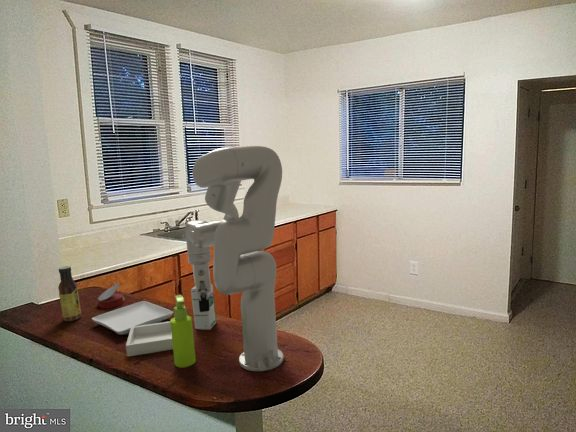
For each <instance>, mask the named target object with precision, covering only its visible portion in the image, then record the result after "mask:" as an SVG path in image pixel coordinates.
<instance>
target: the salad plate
mask: <svg viewBox="0 0 576 432" xmlns="http://www.w3.org/2000/svg"><path fill="white" fill-rule="evenodd" d="M172 315H174V310H170V309H168V308H165V307H163V306H161V305H158V304H154V303H152V302H149V301H146V300H142V301H141V300H140V301H138V302H134V303H132V304H129V305H126V306H123V307H120V308H116V309H114V310H113V309H112V310H111V311H108V312H105V313H102V314H99V315H96V316H94V317H92V318H91V320H92V321H93V322H94V323H96V324H98V325H100V326H103V327H105V328H106V329H108V330H111V331H113V332H115V333H116V334H117V335H121V336H123V335H129V333H130V329H131V327H134V326H141V325H148V324H155V323H161V322H162V321H163V322H164V321H165V320H167V319H168V318H170V317H172Z"/></svg>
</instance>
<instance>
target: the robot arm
mask: <svg viewBox="0 0 576 432" xmlns="http://www.w3.org/2000/svg"><path fill="white" fill-rule="evenodd" d="M282 165H283V164H282V163H281V160H280V157H279V155H278V153H276V151H274V150H273V148H270V147H267V146H260V145H252V146H251V145H250V146H247V145H246V146H233V147H220V148H217V149H216V148H215V149H213V150H211V151H210V152H208V153H205V154H203V155H201V156H199V157H198V158H197V159H196V161H195V162H194V164H193V167H192V178H193V179H192V180H193V182H194V183H195V184H196V186H197V187H200V188H203V189H204V188H205V189H206V188H207V189H206V192H205V197H204V200H205V201H204V202H205V203H206V205H207V206H208V207H209V208H210V209H212V210H214V211H216V212H219V213H222V214H224V217H223V219H221V220H216V221H210V222H209V221H208V222H207V221H206V220H204V219H203V220H202V219H200V220H199V219H195V220H191V221H188V222H186V223H185V227H184V228H185V229H184V230H185V231H184V232H185V240H186V250H187V259H188V260H187V261H188V264H189V265H191V266H192V273H193V281H194V287H196V291H197V293H198V292H199V309H200V312H205V311H209V310H210V309H209V299H208V295H207V291H209V292H210V291H211V284H212V283H211V274H210V262H212V260H213V263H212V275H213V276H212V277H213V278H212V279H213V283H214V286H215V289H216V290H217V292H219V293H220V294H222V295H224V296H229V295H231V296H232V295H235V294H238V293H242V294H241V297H240V315H241V317H240V318H241V329H242V342H243V352H242V353H241V354H240V355H239V357H238V362H239V366H240V367H241V368H243V369H245V370H247V371H251V372H266V371H271V370H274V369H275V368H277V367H279V366H280V365H282V363H283V362H284V353H283V352H282V351H281V349H279V348H278V335H277V319H276V315H277V314H276V299H275V290H276V289H275V288H276V287H275V285H276V279H277V263H276V260H275V257H273V255H272V254H271V253H270V252H268V251H264V250H265V249H267V248H270V247H271V246H272V244H273V241H274V236H275V225H276V217H277V216H276V214H277V203H278V202H277V201H278V197H279V192H280V189H281V184H282V179H283V166H282ZM246 180H247V181H248V180H253V183H252V184H251V185H250V186H249V187H248V190H247V191H246V194H245V195H244V199H243V210H242V214H241V216H239V211H238V209H237V207H236V205H235V204H234V202H235V200H236V196H237V194H238V191H239V189H240V185H241V182H242V181H246ZM212 246H213V259H212V253H211V247H212ZM199 288H200V289H199ZM205 288H206V290H205ZM200 290H201V291H200ZM205 293H206V294H205Z"/></svg>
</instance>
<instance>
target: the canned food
mask: <svg viewBox="0 0 576 432" xmlns="http://www.w3.org/2000/svg"><path fill="white" fill-rule="evenodd" d="M120 284H121V283H120V282H116V283H115V284H113V285H112V286H110V287H109V288H107V289H106V290H105V291H104V292H102V293H101V294H100V295H99V296H98V298H97V303H98V307H99V308H102V309H110V308H115V307H118V306H121V305H122V304H124V303H125V296H124V293H123V292H116V291H117V289H118V288H119V285H120Z"/></svg>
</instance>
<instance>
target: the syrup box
mask: <svg viewBox="0 0 576 432" xmlns="http://www.w3.org/2000/svg"><path fill="white" fill-rule="evenodd" d="M199 289H200V288H199ZM205 290H206V288H205ZM200 291H201V290H200ZM190 293H191V294H190V296H191V303H192V311H193V313H192V314H193V321H194V329H195V330H207V331H208V330H212V328H213V327H214V326H215V325H216V324H217V314H216V313H217V312H216V305H215V295H214V293H215V292H214V285H213V283H211V291H210V292H209V291H207V295H208V299H209V309H210V310H209V311H205V312H200V309H199V292H198V293H197V291H196V287H195V286H193V287H192V288H191V289H190ZM205 294H206V293H205Z"/></svg>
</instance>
